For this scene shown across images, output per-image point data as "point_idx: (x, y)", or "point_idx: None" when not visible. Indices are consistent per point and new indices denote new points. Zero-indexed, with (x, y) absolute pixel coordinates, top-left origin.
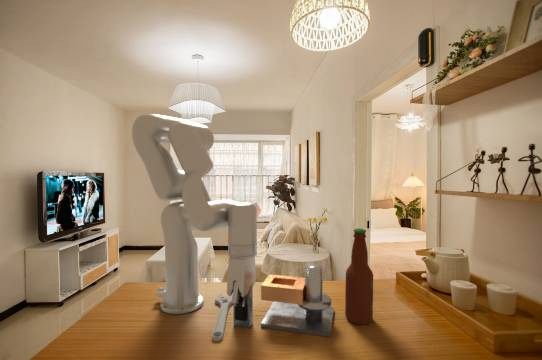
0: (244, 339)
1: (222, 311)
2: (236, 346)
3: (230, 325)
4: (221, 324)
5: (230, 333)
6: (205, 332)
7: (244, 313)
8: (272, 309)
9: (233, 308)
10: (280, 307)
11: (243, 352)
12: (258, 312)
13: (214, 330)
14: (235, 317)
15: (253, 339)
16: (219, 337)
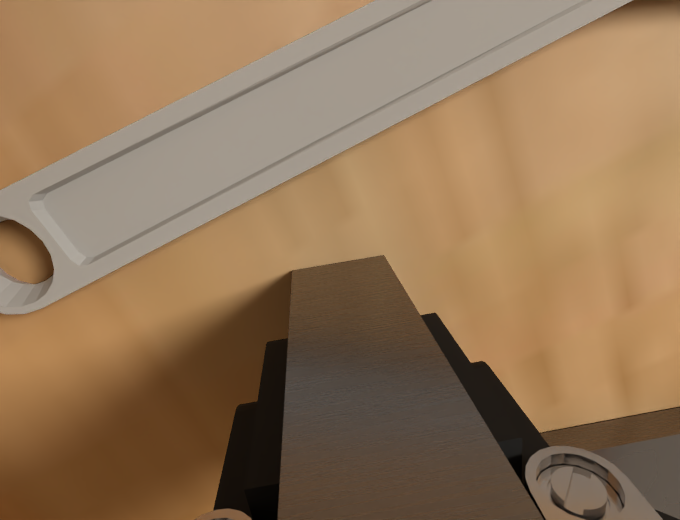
0: (157, 446)
1: (472, 8)
2: (42, 443)
3: (285, 238)
4: (200, 180)
5: (166, 312)
6: (24, 60)
7: None
8: (624, 468)
9: (287, 376)
10: (669, 502)
11: (17, 512)
12: (590, 347)
13: (35, 190)
14: (264, 358)
15: (194, 493)
16: None
